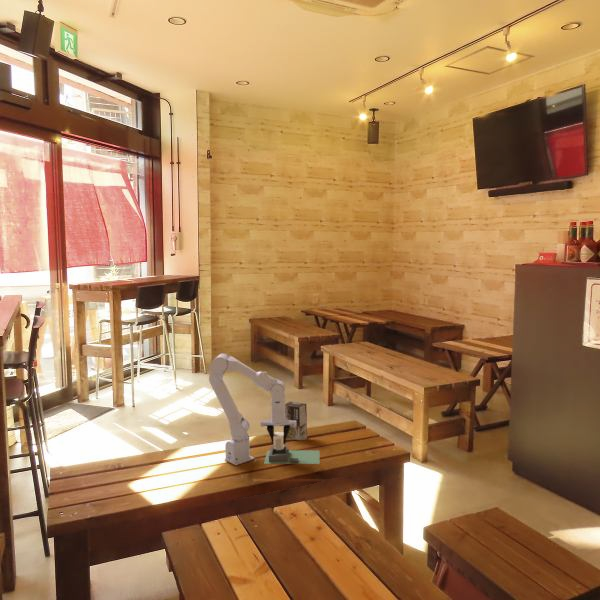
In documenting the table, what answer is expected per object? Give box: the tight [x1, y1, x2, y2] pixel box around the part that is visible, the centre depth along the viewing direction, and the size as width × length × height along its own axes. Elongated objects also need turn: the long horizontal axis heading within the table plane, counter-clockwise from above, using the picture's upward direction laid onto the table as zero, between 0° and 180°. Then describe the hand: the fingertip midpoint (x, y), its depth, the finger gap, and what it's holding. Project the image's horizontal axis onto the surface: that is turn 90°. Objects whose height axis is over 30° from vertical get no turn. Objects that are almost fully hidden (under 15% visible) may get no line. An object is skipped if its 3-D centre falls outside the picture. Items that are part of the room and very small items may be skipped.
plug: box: [272, 431, 285, 450], centre depth 202 cm, size 7×4×5 cm, turn 178°
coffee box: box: [285, 401, 308, 441], centre depth 226 cm, size 9×6×16 cm
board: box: [263, 445, 320, 465], centre depth 202 cm, size 22×14×4 cm, turn 88°
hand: (278, 443), depth 202 cm, fingers closed on plug, 4 cm apart
